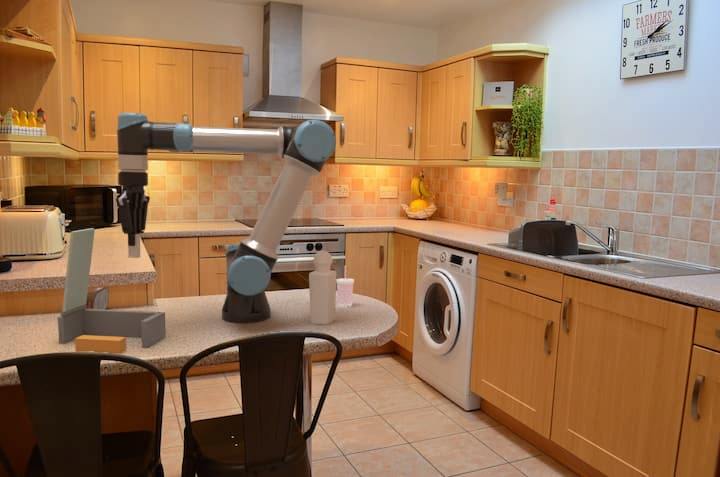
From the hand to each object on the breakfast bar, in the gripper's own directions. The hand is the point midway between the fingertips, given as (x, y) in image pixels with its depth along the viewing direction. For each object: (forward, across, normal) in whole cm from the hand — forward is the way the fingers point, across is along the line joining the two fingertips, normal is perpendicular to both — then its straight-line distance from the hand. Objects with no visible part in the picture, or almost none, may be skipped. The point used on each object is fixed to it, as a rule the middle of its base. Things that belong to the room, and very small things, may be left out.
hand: (134, 257), depth 162 cm
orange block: (+22, +15, -1) cm, 27 cm away
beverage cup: (+21, -46, +50) cm, 71 cm away
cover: (+4, +7, -12) cm, 14 cm away
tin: (+23, -20, -25) cm, 39 cm away
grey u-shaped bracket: (+22, +6, -3) cm, 23 cm away
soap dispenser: (+21, -24, +48) cm, 58 cm away
